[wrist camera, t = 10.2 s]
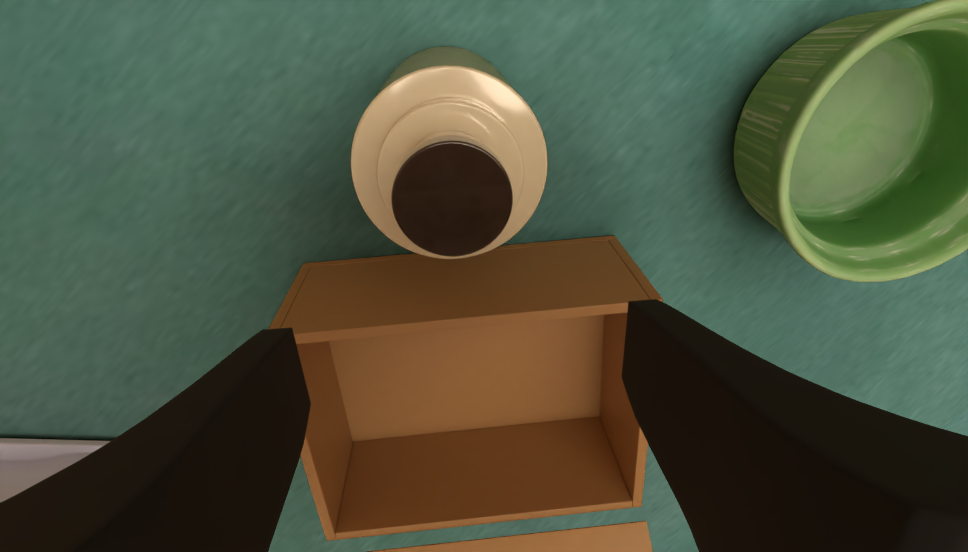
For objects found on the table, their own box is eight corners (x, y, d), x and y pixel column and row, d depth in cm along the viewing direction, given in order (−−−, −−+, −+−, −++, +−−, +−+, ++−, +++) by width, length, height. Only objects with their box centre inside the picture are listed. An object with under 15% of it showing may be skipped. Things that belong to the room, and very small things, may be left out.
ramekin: (883, -66, 18) (1009, -87, 14) (985, 122, 21) (1111, 148, 17) (670, 134, 20) (725, 165, 16) (791, 274, 23) (861, 328, 19)
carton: (605, 415, 26) (641, 507, 22) (347, 442, 26) (326, 541, 21) (614, 234, 22) (663, 299, 17) (302, 262, 21) (263, 337, 17)
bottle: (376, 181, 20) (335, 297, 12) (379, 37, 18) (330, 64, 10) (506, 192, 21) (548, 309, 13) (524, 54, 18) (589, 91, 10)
